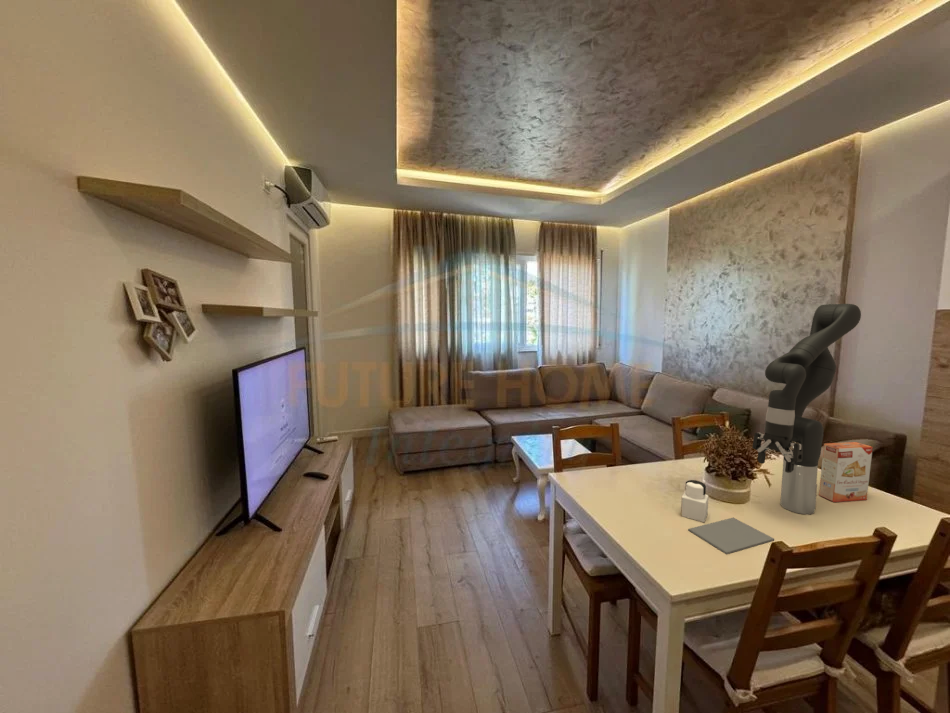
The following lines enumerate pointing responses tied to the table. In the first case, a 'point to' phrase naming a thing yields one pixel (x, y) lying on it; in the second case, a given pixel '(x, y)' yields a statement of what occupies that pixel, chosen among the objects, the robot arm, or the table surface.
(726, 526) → the placemat
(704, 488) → the medicine bottle
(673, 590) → the table surface
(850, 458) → the cracker box
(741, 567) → the table surface
